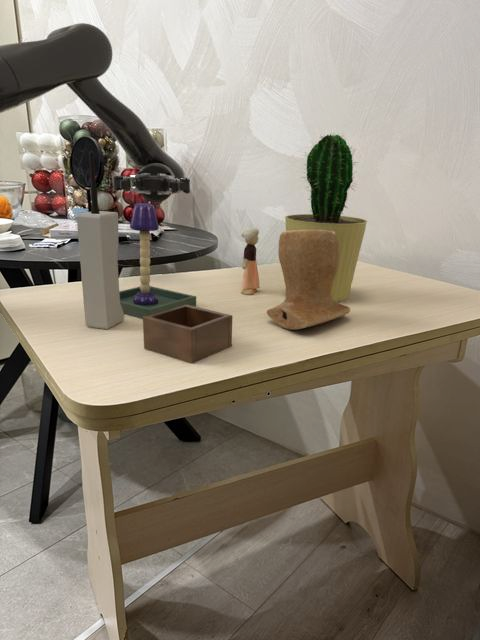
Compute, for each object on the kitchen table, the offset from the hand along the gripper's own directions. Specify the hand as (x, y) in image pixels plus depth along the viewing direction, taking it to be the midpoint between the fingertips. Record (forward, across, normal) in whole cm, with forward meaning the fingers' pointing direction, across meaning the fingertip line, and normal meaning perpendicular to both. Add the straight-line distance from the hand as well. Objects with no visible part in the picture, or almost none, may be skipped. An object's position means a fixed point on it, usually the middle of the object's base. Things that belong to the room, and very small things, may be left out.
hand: (149, 186), depth 94 cm
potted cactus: (+2, +33, +20) cm, 38 cm away
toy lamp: (+11, 0, +19) cm, 22 cm away
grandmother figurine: (-1, +19, +20) cm, 27 cm away
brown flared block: (+18, +26, +20) cm, 38 cm away
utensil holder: (+21, -5, +20) cm, 29 cm away
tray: (+11, 0, +20) cm, 22 cm away
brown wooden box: (+32, +8, +20) cm, 38 cm away
